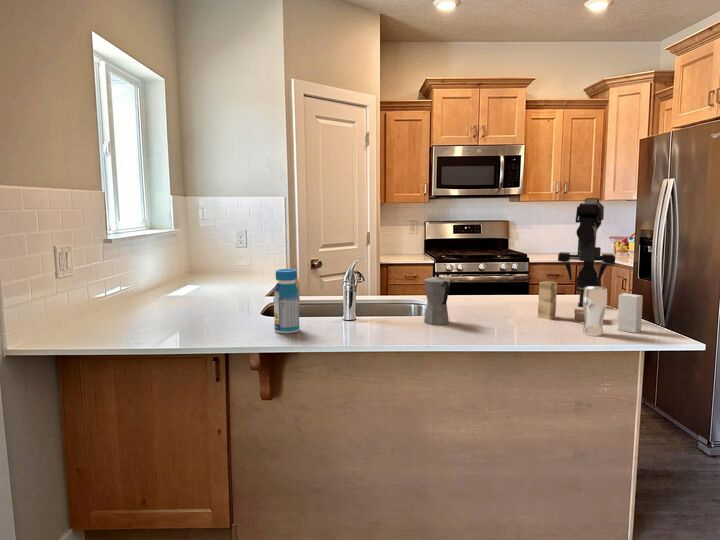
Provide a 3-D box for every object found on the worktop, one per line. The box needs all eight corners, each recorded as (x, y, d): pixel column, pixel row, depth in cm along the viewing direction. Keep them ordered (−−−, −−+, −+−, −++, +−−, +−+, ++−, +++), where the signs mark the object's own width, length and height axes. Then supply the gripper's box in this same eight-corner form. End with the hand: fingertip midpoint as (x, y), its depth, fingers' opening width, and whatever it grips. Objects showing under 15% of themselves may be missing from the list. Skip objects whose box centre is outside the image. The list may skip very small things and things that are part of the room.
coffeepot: (417, 319, 184) (417, 269, 182) (441, 317, 186) (442, 268, 184) (434, 329, 169) (435, 275, 167) (459, 327, 172) (461, 274, 169)
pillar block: (543, 315, 190) (545, 281, 188) (555, 317, 187) (557, 282, 185) (537, 317, 187) (539, 282, 185) (549, 319, 184) (551, 283, 182)
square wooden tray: (574, 316, 188) (575, 308, 188) (601, 319, 185) (601, 310, 184) (574, 322, 180) (574, 313, 180) (602, 324, 177) (603, 315, 176)
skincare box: (641, 331, 167) (644, 295, 165) (635, 333, 164) (638, 296, 162) (622, 328, 172) (624, 292, 170) (616, 330, 169) (618, 294, 167)
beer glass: (603, 337, 159) (606, 290, 157) (579, 334, 163) (582, 288, 161) (606, 332, 165) (609, 287, 163) (582, 330, 169) (585, 285, 167)
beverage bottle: (289, 335, 161) (288, 272, 158) (268, 331, 165) (267, 270, 162) (305, 329, 168) (304, 269, 165) (284, 326, 172) (283, 267, 169)
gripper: (558, 239, 179) (556, 283, 182) (617, 241, 172) (614, 286, 175) (559, 237, 189) (557, 278, 192) (615, 238, 182) (612, 281, 185)
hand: (584, 281), depth 185 cm, fingers open, 9 cm apart
